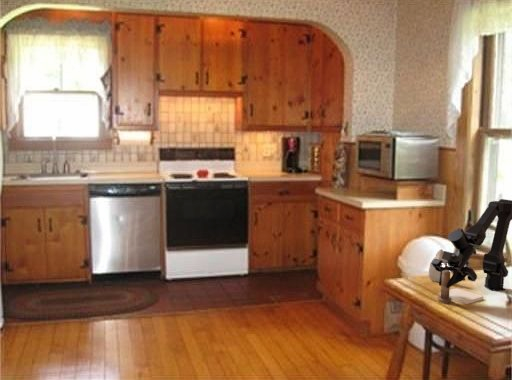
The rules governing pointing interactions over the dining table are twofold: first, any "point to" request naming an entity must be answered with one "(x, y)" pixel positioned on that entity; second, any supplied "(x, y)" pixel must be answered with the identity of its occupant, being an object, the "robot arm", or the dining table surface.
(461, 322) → the dining table surface
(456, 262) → the robot arm
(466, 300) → the tile
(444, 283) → the tamper
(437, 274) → the stone tool
